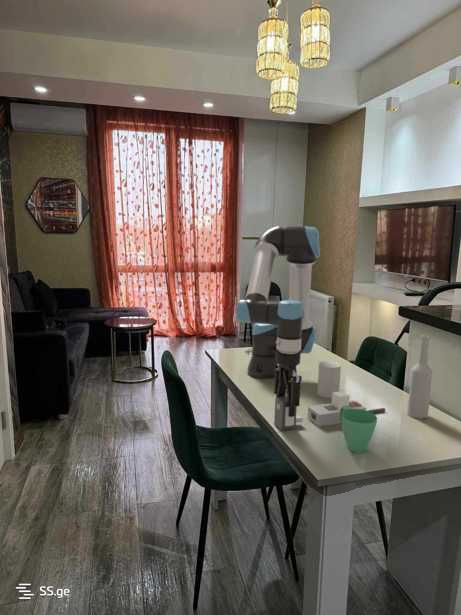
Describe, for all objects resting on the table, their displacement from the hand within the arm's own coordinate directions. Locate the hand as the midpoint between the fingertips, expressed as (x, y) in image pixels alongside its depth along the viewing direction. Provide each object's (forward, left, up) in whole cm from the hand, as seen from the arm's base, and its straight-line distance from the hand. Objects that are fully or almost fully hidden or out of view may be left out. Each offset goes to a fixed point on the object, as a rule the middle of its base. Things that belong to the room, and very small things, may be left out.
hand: (285, 421), depth 135 cm
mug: (+17, +14, -2) cm, 22 cm away
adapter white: (0, +20, +2) cm, 21 cm away
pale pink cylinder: (-20, +29, -2) cm, 36 cm away
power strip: (0, +25, -2) cm, 25 cm away
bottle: (+6, +48, -2) cm, 49 cm away
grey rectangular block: (0, +2, -2) cm, 2 cm away
